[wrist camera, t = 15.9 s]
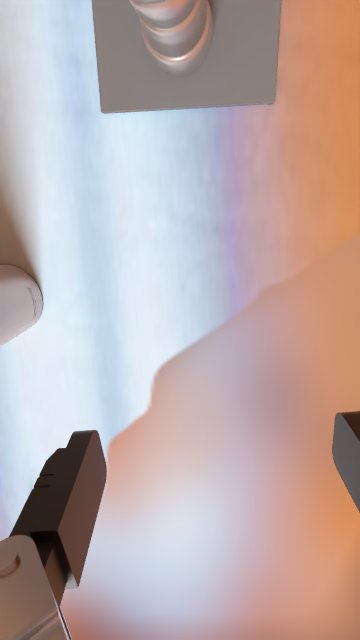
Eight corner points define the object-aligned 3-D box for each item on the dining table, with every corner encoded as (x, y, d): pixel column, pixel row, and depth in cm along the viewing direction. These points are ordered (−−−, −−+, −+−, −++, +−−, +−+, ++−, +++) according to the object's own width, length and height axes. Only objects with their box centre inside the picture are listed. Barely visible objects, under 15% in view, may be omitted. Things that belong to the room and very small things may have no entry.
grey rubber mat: (103, 113, 37) (101, 111, 36) (92, -28, 33) (88, -34, 32) (273, 103, 34) (274, 101, 34) (282, -50, 30) (284, -56, 30)
